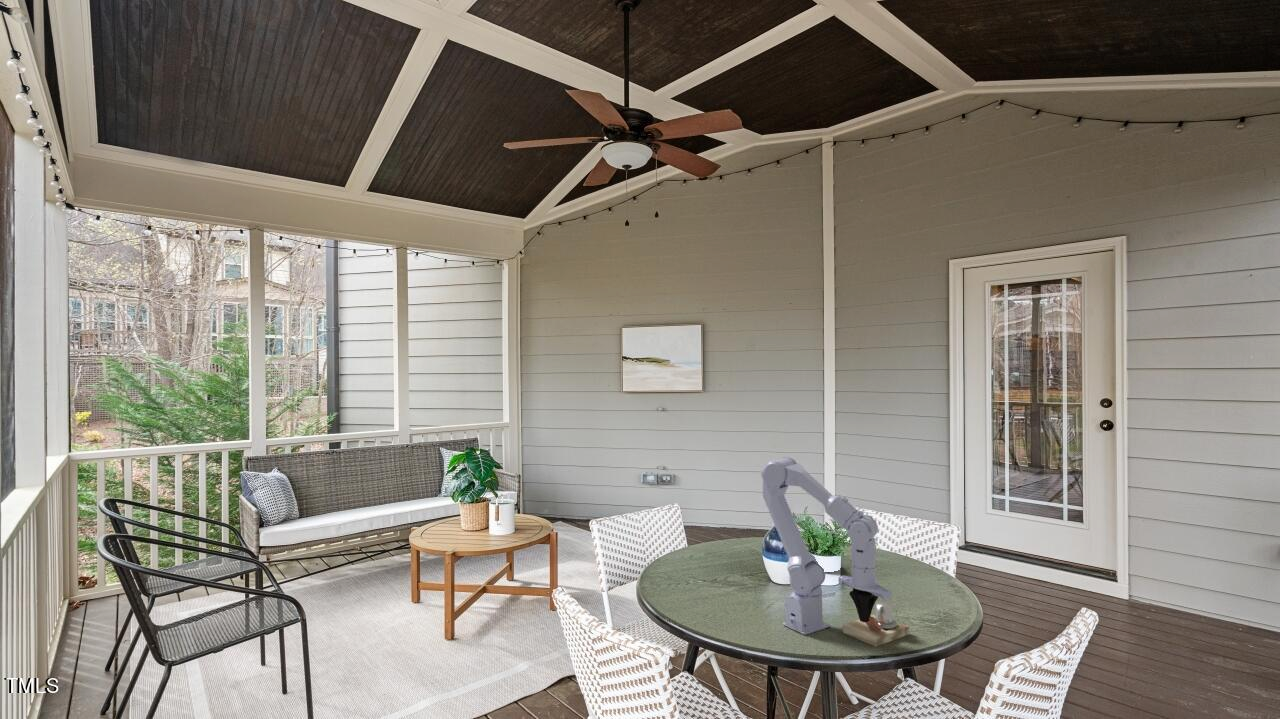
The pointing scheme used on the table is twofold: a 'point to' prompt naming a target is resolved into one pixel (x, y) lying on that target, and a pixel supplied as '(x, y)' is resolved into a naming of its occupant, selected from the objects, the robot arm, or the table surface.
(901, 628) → the hitch block
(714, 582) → the table surface
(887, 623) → the silver knob
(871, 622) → the latch tab
